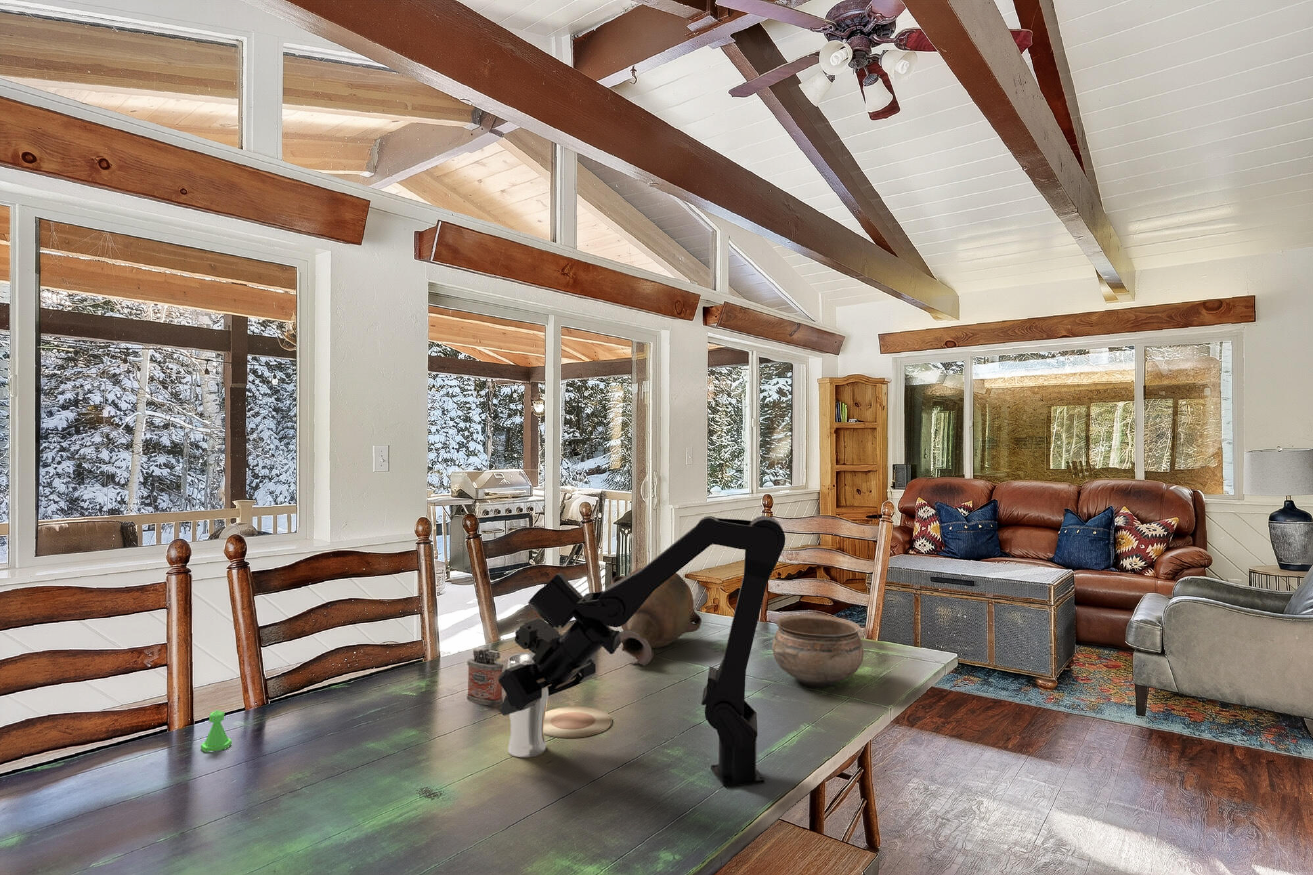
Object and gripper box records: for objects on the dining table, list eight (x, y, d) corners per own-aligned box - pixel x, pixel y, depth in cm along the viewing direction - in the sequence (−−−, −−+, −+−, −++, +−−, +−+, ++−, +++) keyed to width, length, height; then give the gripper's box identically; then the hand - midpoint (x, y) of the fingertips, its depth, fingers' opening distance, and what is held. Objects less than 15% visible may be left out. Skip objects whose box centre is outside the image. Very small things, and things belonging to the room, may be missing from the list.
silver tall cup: (539, 760, 115) (540, 665, 115) (498, 756, 116) (499, 662, 116) (554, 743, 121) (555, 653, 122) (515, 739, 123) (516, 650, 123)
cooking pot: (820, 661, 170) (820, 608, 170) (890, 682, 155) (890, 624, 155) (743, 681, 154) (744, 624, 155) (813, 707, 140) (814, 643, 140)
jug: (640, 631, 196) (598, 684, 168) (623, 561, 194) (578, 603, 166) (712, 622, 189) (681, 676, 161) (694, 550, 188) (660, 592, 159)
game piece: (198, 754, 116) (199, 716, 116) (202, 744, 120) (203, 707, 120) (230, 749, 118) (230, 712, 118) (232, 740, 122) (233, 703, 122)
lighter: (462, 699, 142) (463, 648, 142) (474, 694, 145) (475, 644, 145) (495, 707, 138) (495, 654, 138) (506, 701, 141) (507, 649, 141)
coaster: (619, 733, 126) (619, 731, 126) (537, 741, 122) (537, 739, 122) (603, 705, 139) (603, 703, 139) (530, 711, 136) (530, 709, 136)
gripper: (582, 596, 125) (531, 650, 131) (508, 617, 109) (454, 678, 114) (620, 648, 121) (566, 703, 126) (549, 679, 105) (491, 739, 110)
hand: (521, 704), depth 120 cm, fingers open, 9 cm apart
